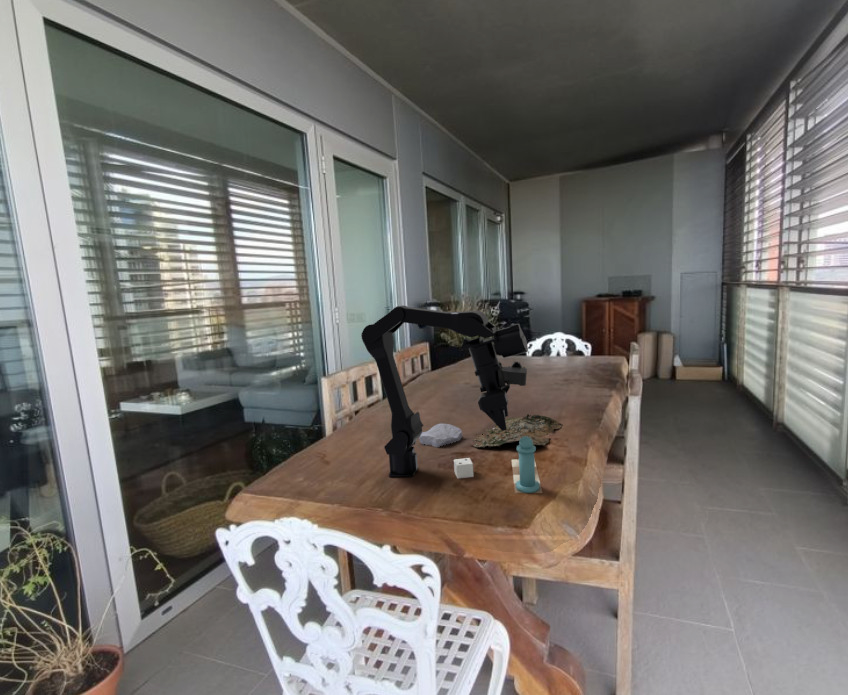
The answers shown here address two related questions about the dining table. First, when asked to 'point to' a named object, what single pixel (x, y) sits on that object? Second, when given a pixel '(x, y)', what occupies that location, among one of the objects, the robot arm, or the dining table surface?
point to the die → (463, 468)
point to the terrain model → (519, 431)
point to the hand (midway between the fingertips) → (505, 423)
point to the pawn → (527, 466)
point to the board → (517, 475)
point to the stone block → (441, 435)
